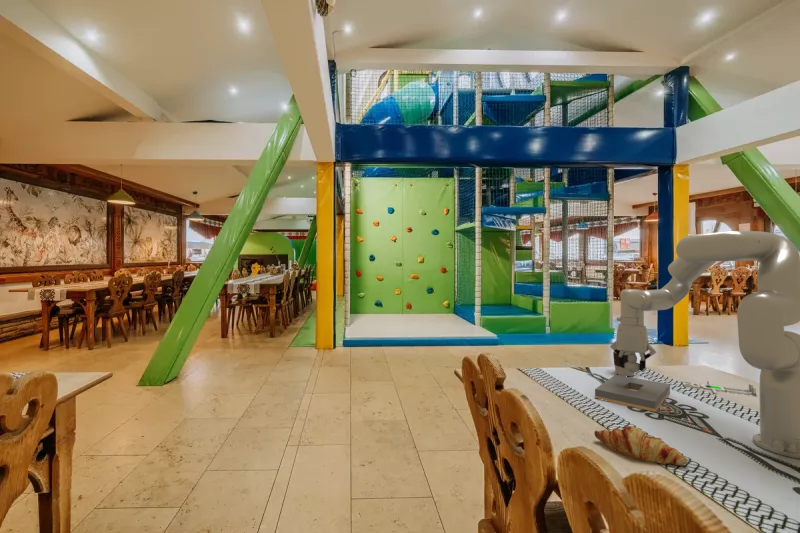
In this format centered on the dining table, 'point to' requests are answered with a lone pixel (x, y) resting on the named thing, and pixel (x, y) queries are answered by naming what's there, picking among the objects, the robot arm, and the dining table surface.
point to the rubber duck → (632, 363)
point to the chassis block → (633, 392)
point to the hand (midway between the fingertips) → (632, 368)
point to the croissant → (640, 446)
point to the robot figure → (720, 388)
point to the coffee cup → (618, 367)
